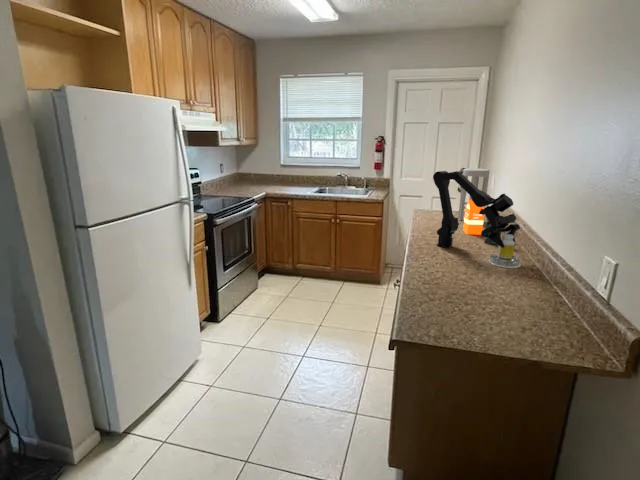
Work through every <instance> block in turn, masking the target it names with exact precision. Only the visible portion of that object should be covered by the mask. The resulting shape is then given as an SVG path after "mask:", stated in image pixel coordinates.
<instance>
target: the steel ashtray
mask: <svg viewBox="0 0 640 480" xmlns="http://www.w3.org/2000/svg"><path fill="white" fill-rule="evenodd" d="M488 264H490V265H492V266H495V267H498V268H503V269H518V268H521V266H522V264H521V258H517V255H515V254H513V258H512V260H508V261H502V260H499V259H498V258H497V254H492V253H491V254H490V256H489V259H488Z"/></svg>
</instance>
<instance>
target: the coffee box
mask: <svg viewBox="0 0 640 480" xmlns="http://www.w3.org/2000/svg"><path fill="white" fill-rule="evenodd" d="M487 222H488V220H487V219H486V224H485V228H486V227H488V226H490V225H488V224H487ZM501 235H502V232H500V237H501V238H502V236H501ZM488 236H489V234H488ZM484 244H491V245H492V244H493V245H497V244H496V243H495V242H494V241H492V240H490V239H489V238H487V237H484Z"/></svg>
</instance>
